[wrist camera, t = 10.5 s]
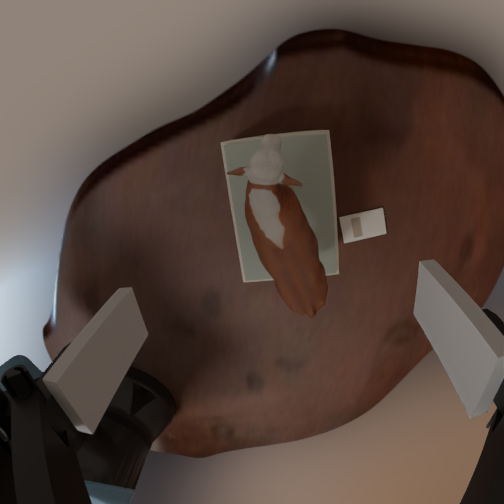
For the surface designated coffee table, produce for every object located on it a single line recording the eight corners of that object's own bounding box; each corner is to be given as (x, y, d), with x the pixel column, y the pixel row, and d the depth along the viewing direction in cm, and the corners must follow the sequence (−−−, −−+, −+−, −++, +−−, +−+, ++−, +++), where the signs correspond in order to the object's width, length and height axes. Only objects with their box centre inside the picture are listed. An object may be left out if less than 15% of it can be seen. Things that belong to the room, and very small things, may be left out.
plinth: (250, 256, 35) (243, 283, 29) (232, 139, 30) (219, 142, 24) (330, 249, 34) (339, 275, 28) (320, 129, 29) (329, 130, 23)
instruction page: (343, 242, 33) (344, 243, 33) (339, 217, 32) (339, 217, 32) (385, 233, 32) (386, 233, 32) (382, 207, 31) (383, 208, 31)
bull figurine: (285, 128, 23) (286, 128, 16) (325, 275, 28) (338, 328, 20) (234, 144, 24) (211, 151, 17) (280, 286, 29) (277, 341, 21)
